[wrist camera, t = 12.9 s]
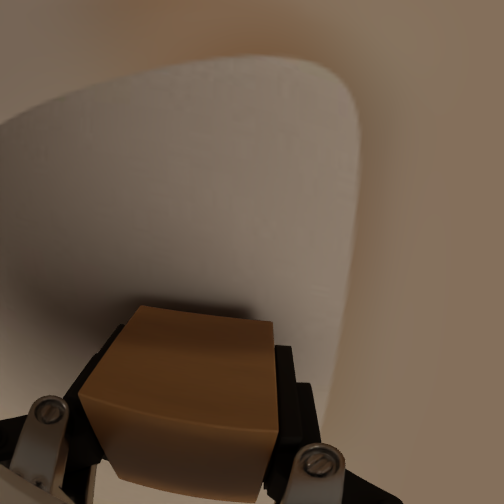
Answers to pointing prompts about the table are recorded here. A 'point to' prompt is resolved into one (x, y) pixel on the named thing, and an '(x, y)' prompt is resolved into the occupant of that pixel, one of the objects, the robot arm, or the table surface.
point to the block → (187, 403)
